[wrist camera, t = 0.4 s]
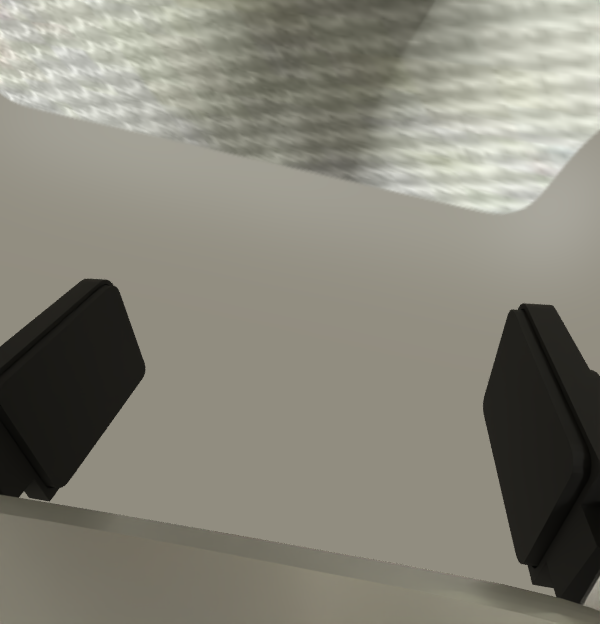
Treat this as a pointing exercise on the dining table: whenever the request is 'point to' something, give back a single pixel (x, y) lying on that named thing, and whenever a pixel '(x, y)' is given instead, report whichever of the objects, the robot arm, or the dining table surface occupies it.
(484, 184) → the dining table surface
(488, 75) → the dining table surface
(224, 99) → the dining table surface
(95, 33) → the dining table surface
